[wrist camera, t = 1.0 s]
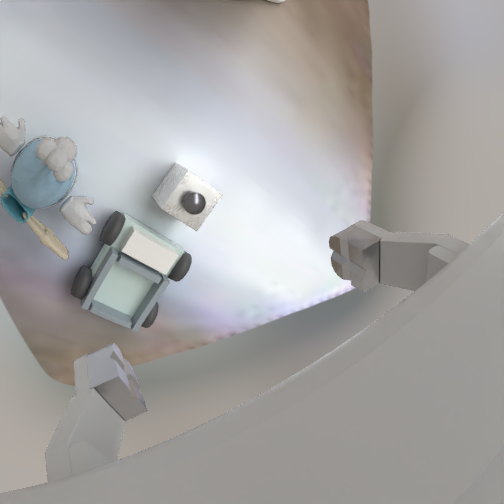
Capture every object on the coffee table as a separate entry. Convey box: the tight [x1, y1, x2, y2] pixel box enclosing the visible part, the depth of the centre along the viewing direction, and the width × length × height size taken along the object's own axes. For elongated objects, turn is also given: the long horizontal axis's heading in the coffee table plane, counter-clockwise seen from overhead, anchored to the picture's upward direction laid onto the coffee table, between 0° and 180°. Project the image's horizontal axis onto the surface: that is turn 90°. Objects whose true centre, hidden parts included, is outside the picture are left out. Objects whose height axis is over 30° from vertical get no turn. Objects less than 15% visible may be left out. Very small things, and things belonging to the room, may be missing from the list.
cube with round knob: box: [152, 163, 222, 231], centre depth 37 cm, size 5×5×7 cm
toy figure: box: [0, 116, 96, 260], centre depth 25 cm, size 17×10×15 cm, turn 34°
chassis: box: [71, 211, 191, 332], centre depth 38 cm, size 12×11×4 cm
